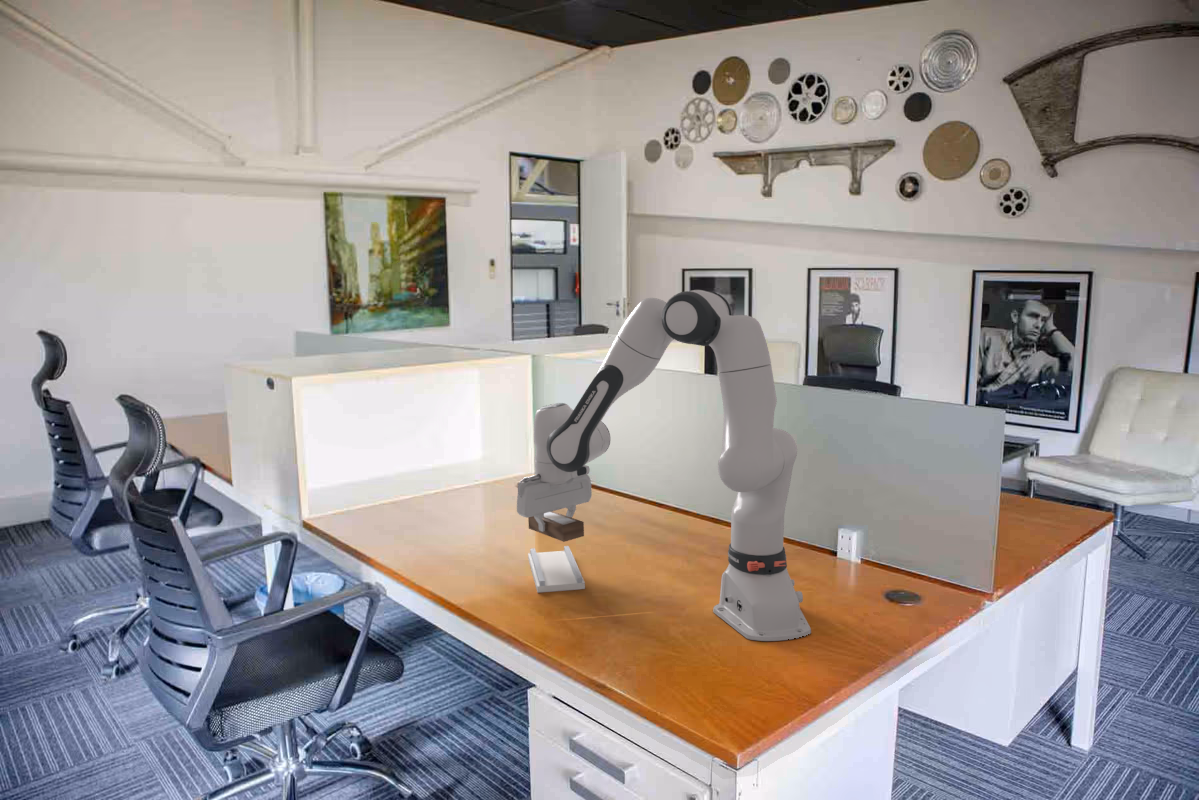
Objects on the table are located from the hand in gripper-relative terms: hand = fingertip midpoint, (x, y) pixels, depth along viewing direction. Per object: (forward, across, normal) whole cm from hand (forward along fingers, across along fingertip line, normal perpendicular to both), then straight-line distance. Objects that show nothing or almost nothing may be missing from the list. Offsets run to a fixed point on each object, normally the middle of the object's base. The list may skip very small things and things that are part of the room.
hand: (555, 527), depth 197 cm
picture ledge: (+12, 0, +1) cm, 12 cm away
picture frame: (+1, 0, 0) cm, 1 cm away
